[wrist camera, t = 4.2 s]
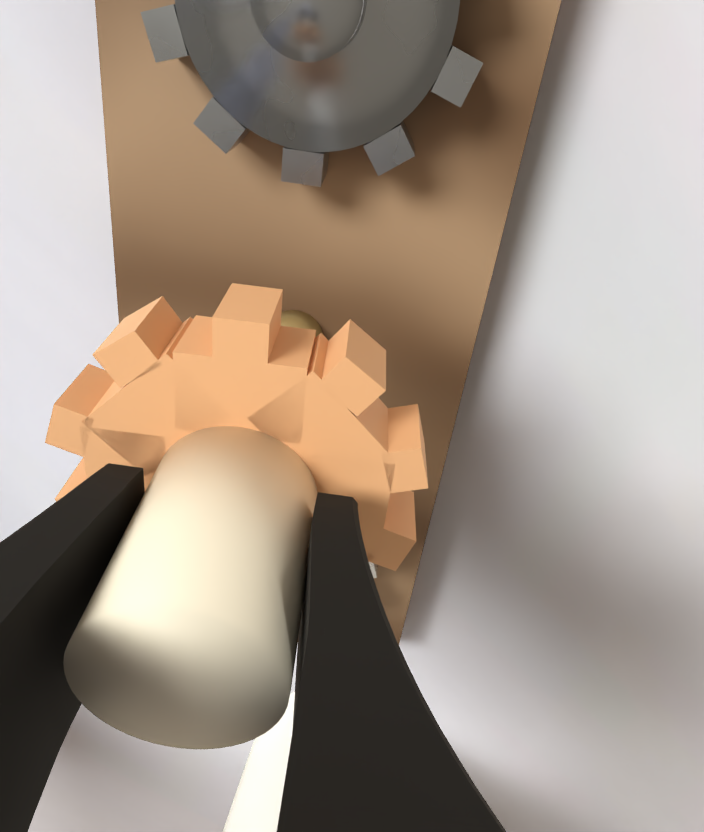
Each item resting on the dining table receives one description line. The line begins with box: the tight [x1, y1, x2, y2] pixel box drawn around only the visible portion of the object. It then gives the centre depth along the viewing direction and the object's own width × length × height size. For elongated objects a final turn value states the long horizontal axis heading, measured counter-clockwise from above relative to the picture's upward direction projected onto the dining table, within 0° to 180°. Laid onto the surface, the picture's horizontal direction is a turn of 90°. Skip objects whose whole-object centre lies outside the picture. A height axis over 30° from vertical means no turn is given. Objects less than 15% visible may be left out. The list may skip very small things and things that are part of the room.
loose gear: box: [45, 283, 428, 749], centre depth 11 cm, size 7×7×6 cm
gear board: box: [95, 0, 561, 645], centre depth 18 cm, size 26×10×3 cm, turn 173°
